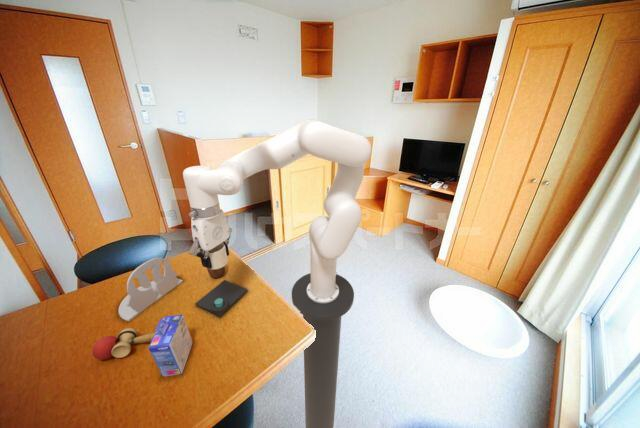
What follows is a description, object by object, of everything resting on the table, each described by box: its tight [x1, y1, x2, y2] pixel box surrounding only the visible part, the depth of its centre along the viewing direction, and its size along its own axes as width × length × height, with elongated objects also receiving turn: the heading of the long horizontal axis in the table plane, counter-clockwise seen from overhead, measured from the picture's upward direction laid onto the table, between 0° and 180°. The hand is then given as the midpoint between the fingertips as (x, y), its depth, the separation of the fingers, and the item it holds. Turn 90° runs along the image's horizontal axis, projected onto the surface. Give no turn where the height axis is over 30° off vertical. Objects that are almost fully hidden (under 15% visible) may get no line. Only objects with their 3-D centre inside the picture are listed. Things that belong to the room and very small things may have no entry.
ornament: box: [117, 257, 184, 322], centre depth 88 cm, size 22×13×17 cm, turn 159°
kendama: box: [91, 327, 157, 361], centre depth 71 cm, size 8×6×18 cm
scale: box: [195, 279, 249, 318], centre depth 89 cm, size 14×12×3 cm
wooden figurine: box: [206, 265, 226, 279], centre depth 99 cm, size 7×6×15 cm
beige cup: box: [203, 243, 229, 270], centre depth 75 cm, size 7×7×6 cm
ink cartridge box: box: [148, 314, 194, 377], centre depth 66 cm, size 10×6×14 cm, turn 10°
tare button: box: [214, 298, 224, 308], centre depth 83 cm, size 3×3×2 cm
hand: (216, 260), depth 76 cm, fingers closed on beige cup, 6 cm apart
